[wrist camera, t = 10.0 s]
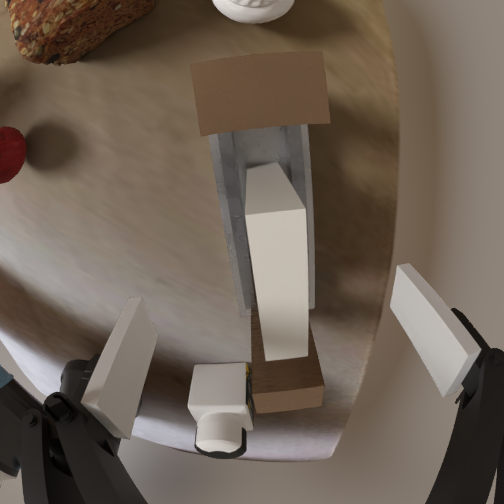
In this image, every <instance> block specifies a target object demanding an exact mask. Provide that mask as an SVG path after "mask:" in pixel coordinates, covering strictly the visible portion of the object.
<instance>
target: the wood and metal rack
mask: <svg viewBox="0 0 504 504" xmlns="http://www.w3.org/2000/svg"><path fill="white" fill-rule="evenodd" d="M191 72H192V79H193V86H194V94H195V100H196V107H197V114H198V121H199V127H200V134H201V136H207V135H209V142H210V148H211V155H212V161H213V167H214V173H215V179H216V185H217V191H218V197H219V203H220V209H221V215H222V221H223V226H224V232H225V238H226V243H227V249H228V254H229V260H230V265H231V271H232V276H233V281H234V286H235V292H236V297H237V302H238V307H239V312H240V317H244V316H251V351H252V396H253V400H254V404H255V408H256V412H257V414H258V413H270V412H281V411H290V410H298V409H305V408H312V407H318V406H322V401H323V394H324V387H325V385H324V380H323V376H322V372H321V367H320V363H319V359H318V355H317V351H316V347H315V343H314V339H313V334H312V330H311V327H310V323H309V319H308V356H305V357H298V358H290V359H281V360H272V361H266V359H265V352H264V345H263V338H262V331H261V324H260V317H259V310H258V303H257V296H256V289H255V282H254V275H253V268H252V261H251V254H250V247H249V240H248V233H247V225H246V218H245V204H246V179H247V165H254V164H263V163H273V162H278V164H279V165H280V167H281V168H282V170H283V172H284V173H285V175H286V177H287V178H288V180H289V181H290V183H291V185H292V186H293V188H294V190H295V191H296V193H297V195H298V196H299V198H300V200H301V202H302V203H303V205H304V207H305V208H306V226H307V252H308V309H314V308H315V247H314V214H313V193H312V176H311V161H310V148H309V136H308V125H307V124H328V123H331V122H330V111H329V101H328V92H327V84H326V76H325V68H324V61H323V54H322V52H284V53H267V54H255V55H246V56H238V57H230V58H223V59H217V60H211V61H205V62H200V63H195V64H191Z"/></svg>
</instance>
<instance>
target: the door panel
mask: <svg viewBox="0 0 504 504" xmlns="http://www.w3.org/2000/svg"><path fill="white" fill-rule="evenodd" d="M245 218H246V225H247V233H248V240H249V247H250V254H251V261H252V268H253V275H254V282H255V289H256V296H257V303H258V310H259V317H260V324H261V331H262V338H263V345H264V352H265V359H266V361H272V360H281V359H290V358H298V357H305V356H308V252H307V226H306V208H305V207H304V205H303V203H302V202H301V200H300V198H299V196H298V195H297V193H296V191H295V190H294V188H293V186H292V185H291V183H290V181H289V180H288V178H287V177H286V175H285V173H284V172H283V170H282V168H281V167H280V165H279V164H278V162H273V163H263V164H254V165H247V179H246V204H245Z"/></svg>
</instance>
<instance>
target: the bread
mask: <svg viewBox="0 0 504 504" xmlns="http://www.w3.org/2000/svg"><path fill="white" fill-rule="evenodd" d="M5 6H6V7H7V8H8V11H9V13H10V17H11V29H12V32H13V35H14V38H15V44H16V46H17V48H18V50H19V52H20V54H21V55H22V56H23V58H25V59H27V60H29V61H30V62H33V63H37V64H40V63H43V64H46V65H48V64H50V63H52V64H54V65H55V66H56V65H57V66H60V65H61V64H64V65H66V64H70V63H75V62H77V61H79V60H80V59H82V58H83V57H84V55H85V54H86V53H87V52H90V51H92V50H94V49H95V48H97V47H98V46H99V45H100V44H101V43H102V42H103V41H104V40H105V38H107V37H109V36H110V35H111V34H112V33H113V32H115V31H116V30H117V29H120V28H123V27H125V26H127V25H129V24H130V23H132V22H133V21H135V20H136V19H138V18H139V17H141V16H143V15H145V14H147V13H148V12H149V11H151V10H152V9H154V6H155V3H154V2H153V0H6V1H5Z"/></svg>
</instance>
